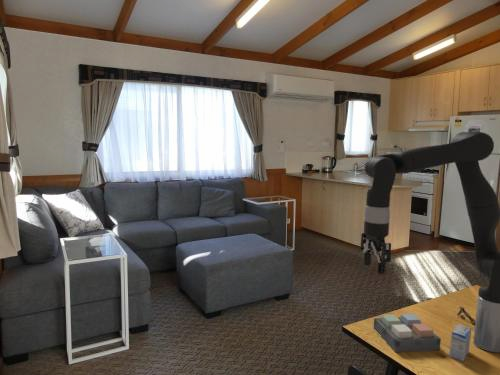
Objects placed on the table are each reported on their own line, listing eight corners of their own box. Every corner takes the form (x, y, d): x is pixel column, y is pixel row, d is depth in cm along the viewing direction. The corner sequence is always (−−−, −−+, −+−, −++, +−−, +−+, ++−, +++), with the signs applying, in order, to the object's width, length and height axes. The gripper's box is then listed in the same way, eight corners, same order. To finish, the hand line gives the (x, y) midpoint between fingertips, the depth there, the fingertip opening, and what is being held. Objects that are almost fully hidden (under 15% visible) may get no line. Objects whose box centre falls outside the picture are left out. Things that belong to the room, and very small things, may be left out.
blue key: (412, 319, 144) (413, 313, 144) (419, 326, 139) (420, 319, 139) (400, 320, 143) (401, 314, 143) (407, 326, 138) (407, 320, 138)
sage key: (393, 320, 143) (393, 314, 142) (400, 326, 138) (400, 320, 138) (381, 321, 142) (381, 314, 142) (387, 327, 137) (387, 321, 137)
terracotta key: (424, 329, 136) (424, 323, 136) (432, 336, 132) (433, 330, 131) (411, 330, 136) (412, 323, 135) (419, 337, 131) (420, 330, 131)
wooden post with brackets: (457, 312, 158) (462, 304, 155) (472, 328, 151) (478, 320, 149) (454, 313, 157) (459, 305, 155) (469, 329, 151) (474, 321, 148)
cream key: (404, 330, 135) (404, 324, 135) (411, 337, 131) (412, 331, 130) (391, 331, 135) (391, 324, 134) (398, 338, 130) (398, 331, 130)
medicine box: (454, 347, 133) (456, 323, 132) (469, 351, 130) (471, 327, 129) (448, 356, 127) (451, 331, 126) (464, 362, 124) (466, 336, 123)
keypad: (413, 326, 146) (414, 316, 146) (439, 349, 131) (440, 338, 130) (373, 328, 144) (374, 318, 144) (395, 352, 128) (396, 341, 128)
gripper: (400, 224, 116) (397, 276, 119) (375, 215, 130) (372, 261, 132) (378, 225, 115) (374, 278, 117) (355, 215, 129) (352, 262, 131)
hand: (373, 269), depth 125 cm, fingers open, 8 cm apart
